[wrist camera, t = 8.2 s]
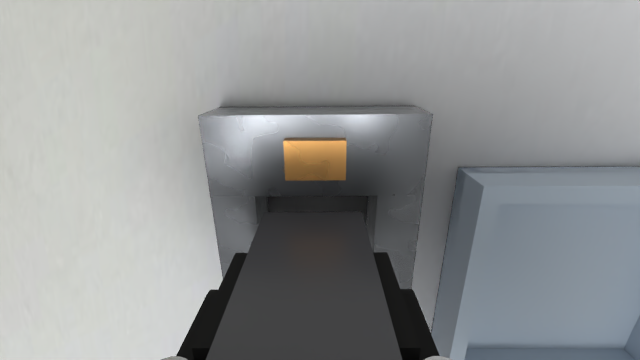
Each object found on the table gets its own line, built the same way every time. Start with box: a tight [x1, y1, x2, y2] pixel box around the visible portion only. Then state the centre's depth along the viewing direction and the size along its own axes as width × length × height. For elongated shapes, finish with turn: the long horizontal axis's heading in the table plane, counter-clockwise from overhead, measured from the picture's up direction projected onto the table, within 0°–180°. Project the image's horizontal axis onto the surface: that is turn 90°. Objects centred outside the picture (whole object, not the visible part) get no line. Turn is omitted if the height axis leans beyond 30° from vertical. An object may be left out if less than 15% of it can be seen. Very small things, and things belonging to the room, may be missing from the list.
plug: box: [206, 212, 402, 360], centre depth 9 cm, size 4×6×8 cm
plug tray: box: [431, 167, 640, 360], centre depth 16 cm, size 12×12×2 cm
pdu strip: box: [198, 106, 433, 289], centre depth 15 cm, size 9×22×6 cm, turn 1°
